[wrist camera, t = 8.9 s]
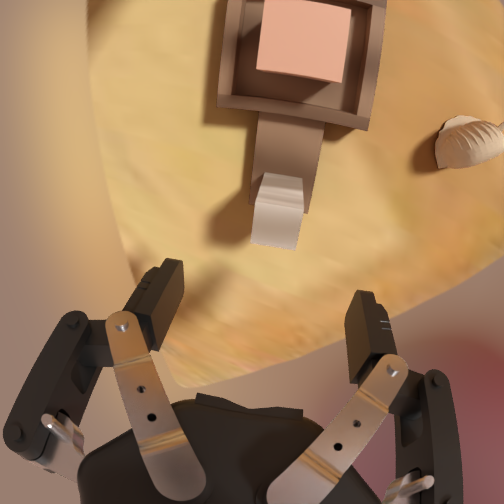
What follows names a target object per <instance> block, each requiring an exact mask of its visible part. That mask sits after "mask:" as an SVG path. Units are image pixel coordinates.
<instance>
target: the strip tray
mask: <svg viewBox="0 0 504 504" xmlns="http://www.w3.org/2000/svg"><path fill="white" fill-rule="evenodd" d="M306 1H312V2H318V3H323V4H328V5H333V6H338V7H342V8H347V9H351V17H350V26H349V34H348V42H347V49H346V57H345V64H344V70H343V77H342V83H329V82H324V81H319V80H314V79H308V78H303V77H296V76H290V75H283V74H275V73H267V72H263V71H260V70H257V69H256V67H257V58H258V50H259V42H260V34H261V26H262V18H263V10H264V2H265V0H228V4H227V12H226V19H225V27H224V36H223V45H222V54H221V63H220V73H219V83H218V94H217V106H216V107H222V108H234V109H244V110H254V111H259V118H258V127H257V135H256V144H255V153H254V161H253V170H252V179H251V188H250V197H249V204H251V205H255V208H254V217H253V225H252V233H251V242H250V243H253V244H259V245H265V246H271V247H277V248H283V249H289V250H296V245H297V240H298V236H299V231H300V226H301V222H302V217H303V213H306V214H308V210H309V205H310V201H311V196H312V191H313V186H314V181H315V176H316V171H317V166H318V161H319V155H320V150H321V145H322V139H323V134H324V128H325V122H329V123H334V124H338V125H343V126H347V127H351V128H356V129H360V130H364V131H368V126H369V121H370V116H371V111H372V106H373V100H374V95H375V89H376V83H377V77H378V71H379V64H380V57H381V50H382V42H383V34H384V25H385V15H386V4H387V0H306Z"/></svg>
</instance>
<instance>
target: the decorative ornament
mask: <svg viewBox="0 0 504 504" xmlns="http://www.w3.org/2000/svg"><path fill="white" fill-rule="evenodd" d="M503 130H504V122H503V123H501V124H500V125H499V126H498V127H497V126H496V125H495V124H493V123H491V122H487V121H481V120H480V119H475V118H474V117H472V116H463V115H458V116H457V117H455V118H452V119H450V120H448V121H447V122H446V123H445V125H444V128H443V130H441V131H439V138H438V139H437V140H436V142H435V156H436V160H437V165H438V168H446V167H448V168H453V169H460V168H467V167H471V166H475V165H478V164H480V163H483V162H486V161H488V160H490V159H493V158H495V157H497V156H499V155H500V154H501V153H503V152H504V136H503V134H502V131H503Z"/></svg>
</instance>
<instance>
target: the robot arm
mask: <svg viewBox="0 0 504 504" xmlns="http://www.w3.org/2000/svg"><path fill="white" fill-rule="evenodd" d="M183 293H184V271H183V261H182V260H176V259H170V258H166V259H165V260H164V262H163V263H162V265H161V267H160V268H159V267H153V268H152V269H150V270H149V271H147V272H146V273H145V275H144V276H143V278H142V279H141V282H140V283H139V284H138V286H137V288H136V289H135V291H134V292H133V294H132V296H131V297H130V299H129V300H128V302H127V303H126V305H125V307H124V308H123V310H122V311H118V312H115V313H113V314H112V315H110V316H109V317H108V319H107V320H88V317H87V315H86V314H85V313H84V312H81V311H71V312H68V313H66V314H65V315H64V316H63V317H62V318H61V320H60V321H59V323H58V324H57V326H56V328H55V329H54V331H53V333H52V334H51V336H50V338H49V339H48V341H47V343H46V344H45V346H44V348H43V350H42V352H41V353H40V355H39V357H38V358H37V360H36V362H35V364H34V366H33V367H32V369H31V371H30V373H29V375H28V377H27V379H26V381H25V383H24V385H23V387H22V389H21V391H20V393H19V395H18V397H17V399H16V401H15V403H14V405H13V408H12V410H11V412H10V414H9V416H8V419H7V421H6V423H5V426H4V429H3V438H4V441H5V444H6V445H7V447H8V448H9V449H11V450H12V451H14V452H15V453H17V454H18V455H20V456H21V457H22V458H23V459H25V460H27V461H28V462H30V463H32V464H34V465H35V466H37V467H39V468H42V469H44V470H46V471H48V472H50V473H57V474H59V475H61V476H63V477H65V478H67V479H70V480H72V481H74V482H76V483H77V484H78V489H79V493H80V501H81V504H463V477H462V462H461V451H460V443H459V434H458V427H457V421H456V414H455V409H454V403H453V398H452V393H451V389H450V383H449V380H448V378H447V376H446V375H445V374H444V373H442V372H441V371H439V370H435V369H434V370H433V369H432V370H429V371H428V372H427V373H426V374H425V375H423V374H420V373H417V372H414V371H411V370H409V369H408V366H407V364H406V362H405V361H404V360H403V359H402V358H401V357H399V356H398V355H397V350H396V346H395V342H394V338H393V334H392V330H391V325H390V323H389V317H388V314H387V312H386V310H385V309H384V307H383V306H382V305H381V304H376V300H375V296H374V293H373V292H370V291H363V290H357V291H356V292H355V294H354V297H353V299H352V301H351V304H350V306H349V308H348V310H347V313H346V316H345V323H344V325H345V335H346V344H347V355H348V364H349V365H348V366H349V379H350V383H353V384H358V390H357V392H356V393H355V394H354V395H353V397H352V398H351V399H350V400H349V402H348V403H347V404H346V405H345V406H344V408H343V409H342V410H341V411H340V413H339V414H338V415H337V416H336V417H335V418H334V419H333V421H332V422H331V423H330V424H329V425H328V426H327V427H326V429H325V430H324V429H323V428H322V427H321V426H320V425H318V424H317V423H315V422H314V421H312V420H310V419H308V418H306V417H303V409H292V408H284V407H283V408H282V407H270V408H258V409H248V408H245V407H243V406H240V405H238V404H235V403H233V402H231V401H229V400H226V399H224V398H220V397H215V396H210V395H206V394H201V393H197V395H196V399H189V400H182V401H178V402H175V403H172V404H170V402H169V400H168V397H167V395H166V393H165V390H164V388H163V385H162V383H161V381H160V378H159V376H158V373H157V371H156V368H155V365H154V363H153V360H152V358H151V355H150V354H149V353H150V351H151V350H154V351H159V350H160V347H161V345H162V343H163V340H164V338H165V336H166V333H167V331H168V329H169V327H170V324H171V322H172V320H173V318H174V315H175V313H176V311H177V309H178V306H179V304H180V302H181V300H182V297H183ZM103 367H113V368H114V372H115V376H116V379H117V383H118V386H119V390H120V393H121V397H122V400H123V402H124V406H125V409H126V412H127V415H128V418H129V421H130V424H131V427H132V428H131V429H130V430H128V431H126V432H125V433H123V434H121V435H120V436H118V437H116V438H115V439H113V440H111V441H109V442H108V443H106V444H104V445H102V446H101V447H99V448H97V449H95V450H94V451H92V452H90V453H89V454H88V455H86V456H85V454H84V451H83V445H84V435H83V433H82V431H81V430H80V428H79V425H80V422H81V419H82V416H83V414H84V411H85V409H86V406H87V404H88V401H89V398H90V396H91V394H92V391H93V389H94V386H95V384H96V382H97V380H98V377H99V375H100V373H101V370H102V368H103ZM387 413H391V414H394V419H395V443H396V480H394V481H393V482H391V484H390V485H389V486H388V488H387V491H386V495H385V498H384V500H383V501H382V503H381V501H380V499H379V498H378V497H377V495H376V494H375V493H374V492H373V491H372V489H371V488H370V487H369V486H368V485H367V483H366V482H365V481H364V479H363V478H362V477H361V476H360V474H359V473H358V472H357V471H356V469H355V468H354V467H353V466H352V463H353V461H354V460H355V459H356V458H357V456H358V455H359V453H360V452H361V451H362V450H363V448H364V447H365V446H366V444H367V443H368V442H369V440H370V439H371V437H372V436H373V434H374V433H375V432H376V430H377V429H378V427H379V426H380V424H381V423H382V421H383V420H384V418H385V417H386V415H387Z"/></svg>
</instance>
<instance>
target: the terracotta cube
mask: <svg viewBox="0 0 504 504" xmlns="http://www.w3.org/2000/svg"><path fill="white" fill-rule="evenodd" d="M350 17H351V9H347V8H342V7H338V6H333V5H328V4H323V3H318V2H312V1H306V0H265V2H264V10H263V18H262V26H261V34H260V42H259V50H258V58H257V67H256V69H257V70H260V71H263V72H267V73H275V74H283V75H290V76H296V77H303V78H308V79H314V80H319V81H324V82H329V83H342V77H343V70H344V64H345V57H346V49H347V42H348V34H349V26H350Z"/></svg>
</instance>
